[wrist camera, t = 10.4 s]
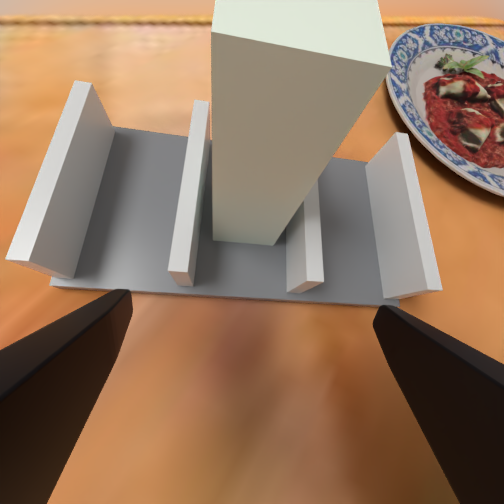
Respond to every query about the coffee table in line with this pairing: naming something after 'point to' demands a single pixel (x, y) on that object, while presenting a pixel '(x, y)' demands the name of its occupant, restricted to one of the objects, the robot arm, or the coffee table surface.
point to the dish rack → (201, 220)
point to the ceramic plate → (453, 97)
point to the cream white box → (284, 103)
